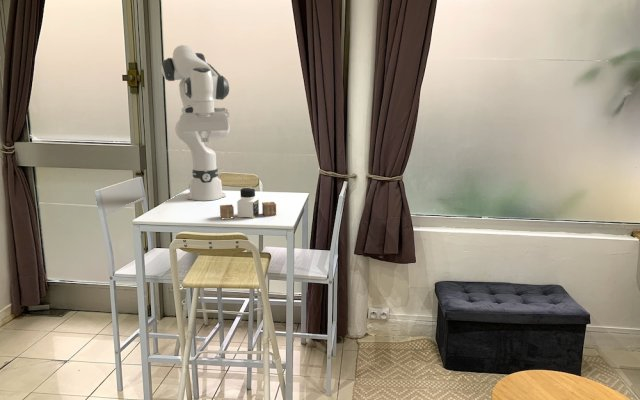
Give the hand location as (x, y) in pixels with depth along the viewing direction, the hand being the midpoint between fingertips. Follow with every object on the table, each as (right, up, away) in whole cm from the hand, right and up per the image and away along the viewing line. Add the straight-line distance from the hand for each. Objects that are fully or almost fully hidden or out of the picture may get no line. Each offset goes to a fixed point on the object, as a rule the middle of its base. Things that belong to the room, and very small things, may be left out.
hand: (205, 141), depth 224 cm
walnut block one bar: (+9, -32, +2) cm, 33 cm away
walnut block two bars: (+26, -31, +7) cm, 41 cm away
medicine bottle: (+18, -31, +4) cm, 36 cm away
